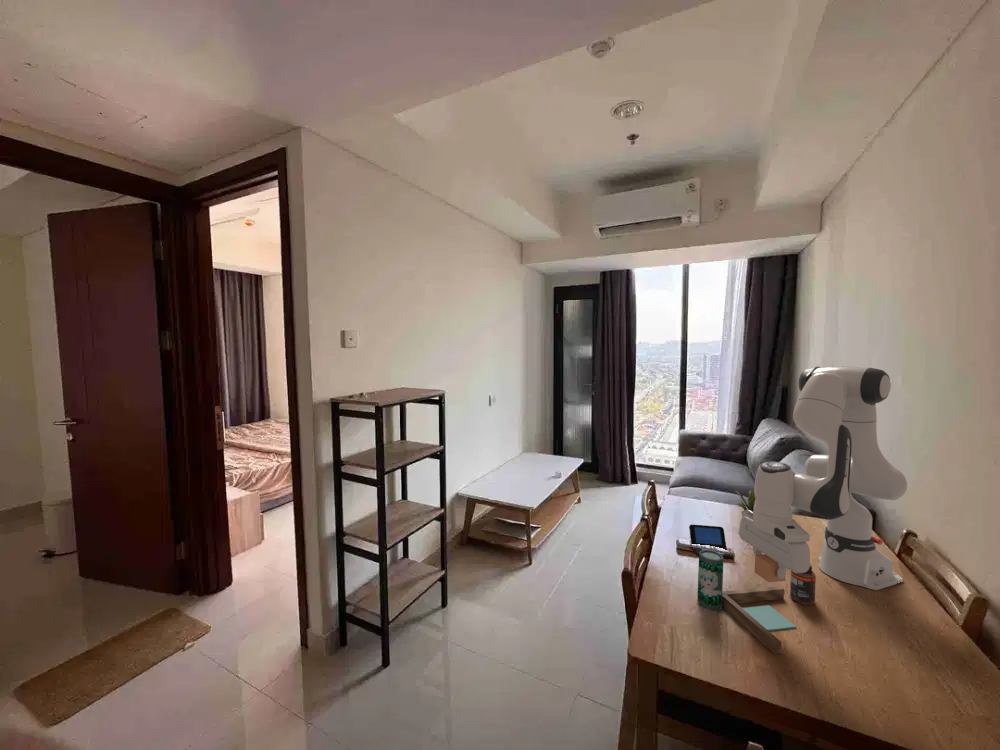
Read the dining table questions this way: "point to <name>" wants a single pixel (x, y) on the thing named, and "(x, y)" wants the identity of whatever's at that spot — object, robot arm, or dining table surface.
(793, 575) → the supplement bottle
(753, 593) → the wooden l-shaped wall
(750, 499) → the house plant
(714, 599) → the can
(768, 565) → the cube
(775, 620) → the pad
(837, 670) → the dining table surface
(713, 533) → the handheld game console
